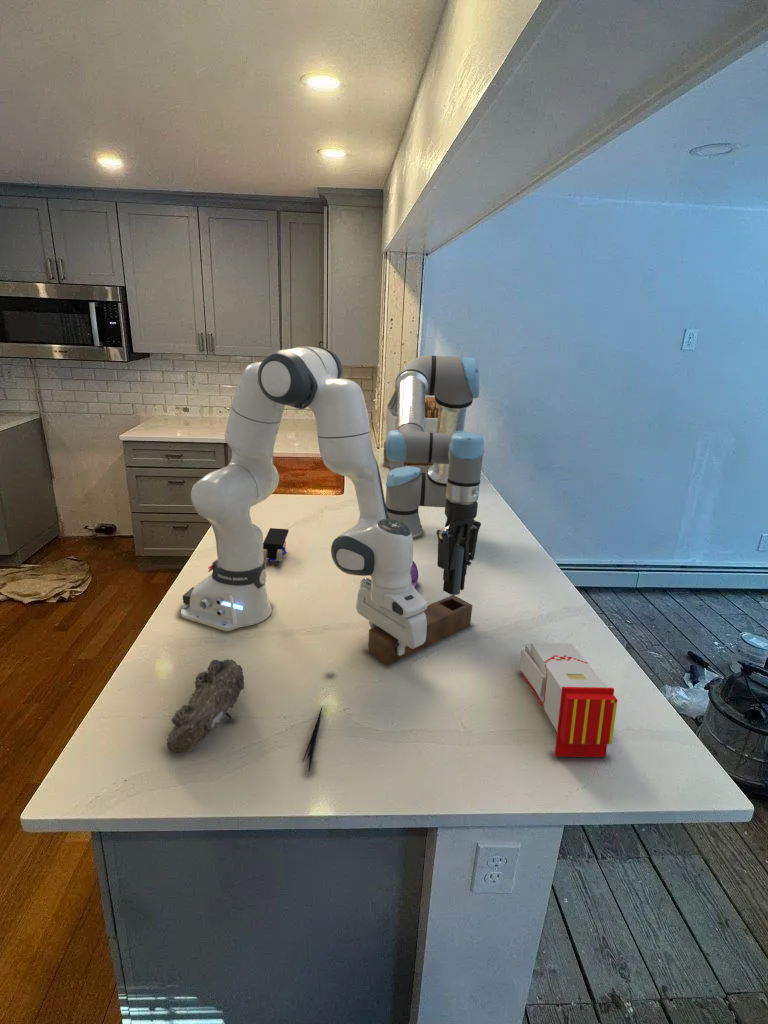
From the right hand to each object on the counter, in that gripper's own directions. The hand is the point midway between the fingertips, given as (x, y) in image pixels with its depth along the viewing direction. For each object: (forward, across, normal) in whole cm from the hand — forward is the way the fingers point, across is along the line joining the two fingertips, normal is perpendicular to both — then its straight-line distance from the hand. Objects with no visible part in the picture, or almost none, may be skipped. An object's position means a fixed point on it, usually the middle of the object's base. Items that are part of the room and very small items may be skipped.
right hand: (453, 589), depth 140 cm
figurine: (+10, +5, +23) cm, 26 cm away
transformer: (+10, +92, +106) cm, 140 cm away
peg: (+1, 0, 0) cm, 1 cm away
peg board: (+10, -10, 0) cm, 14 cm away
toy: (+10, -6, -35) cm, 37 cm away
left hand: (+8, -21, 0) cm, 22 cm away
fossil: (+10, -61, +4) cm, 62 cm away
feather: (+10, -46, -9) cm, 48 cm away
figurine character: (+10, -15, +60) cm, 63 cm away
